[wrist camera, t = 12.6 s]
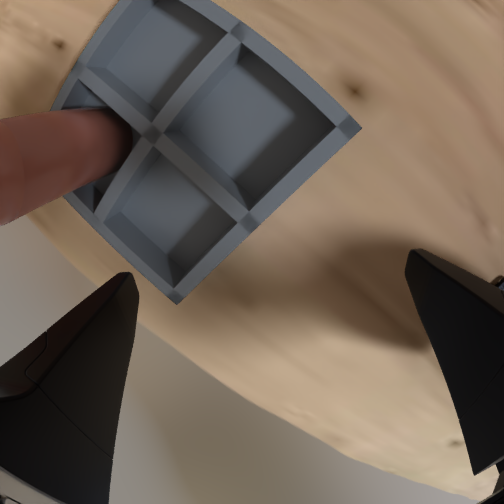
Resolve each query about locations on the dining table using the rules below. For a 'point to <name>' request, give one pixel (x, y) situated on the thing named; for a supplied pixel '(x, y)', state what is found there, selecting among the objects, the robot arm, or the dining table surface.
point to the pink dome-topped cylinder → (57, 155)
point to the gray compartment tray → (196, 134)
